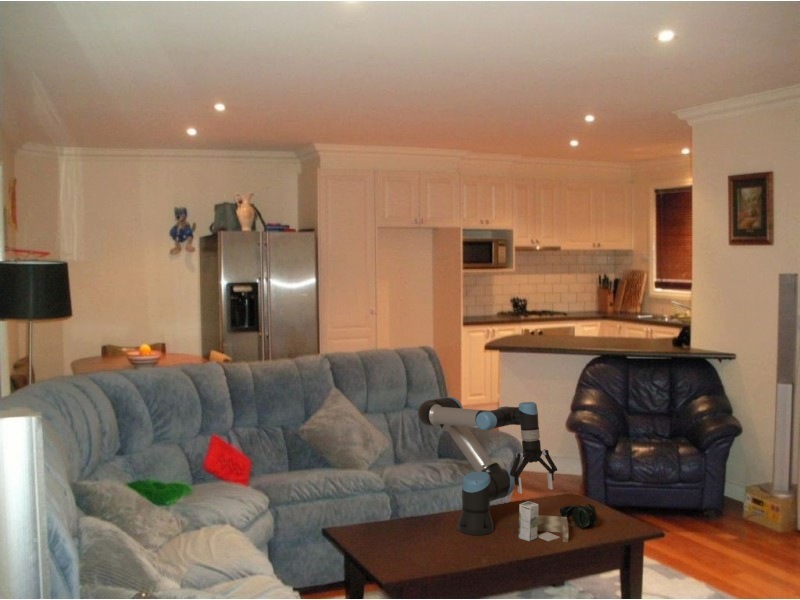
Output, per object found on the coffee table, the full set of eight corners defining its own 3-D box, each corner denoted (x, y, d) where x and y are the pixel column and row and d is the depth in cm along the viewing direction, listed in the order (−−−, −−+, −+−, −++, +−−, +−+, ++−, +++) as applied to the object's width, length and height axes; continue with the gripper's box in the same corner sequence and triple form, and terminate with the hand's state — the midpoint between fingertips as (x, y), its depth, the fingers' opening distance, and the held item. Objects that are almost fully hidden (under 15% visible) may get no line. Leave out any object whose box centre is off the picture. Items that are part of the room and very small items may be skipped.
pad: (548, 541, 303) (548, 540, 303) (535, 536, 309) (535, 535, 309) (559, 537, 307) (559, 537, 307) (547, 532, 313) (547, 531, 313)
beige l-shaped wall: (523, 539, 305) (523, 524, 305) (523, 528, 318) (523, 514, 318) (568, 542, 302) (568, 527, 302) (566, 530, 315) (566, 517, 315)
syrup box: (526, 534, 311) (527, 500, 310) (538, 538, 306) (538, 503, 306) (518, 538, 307) (518, 503, 306) (530, 542, 302) (530, 506, 302)
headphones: (611, 513, 320) (581, 507, 338) (592, 494, 317) (562, 489, 335) (596, 540, 315) (566, 532, 333) (577, 520, 312) (547, 513, 330)
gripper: (505, 444, 304) (510, 496, 303) (562, 437, 309) (567, 488, 308) (499, 441, 311) (503, 492, 310) (554, 435, 317) (559, 485, 316)
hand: (535, 491), depth 309 cm, fingers open, 13 cm apart
